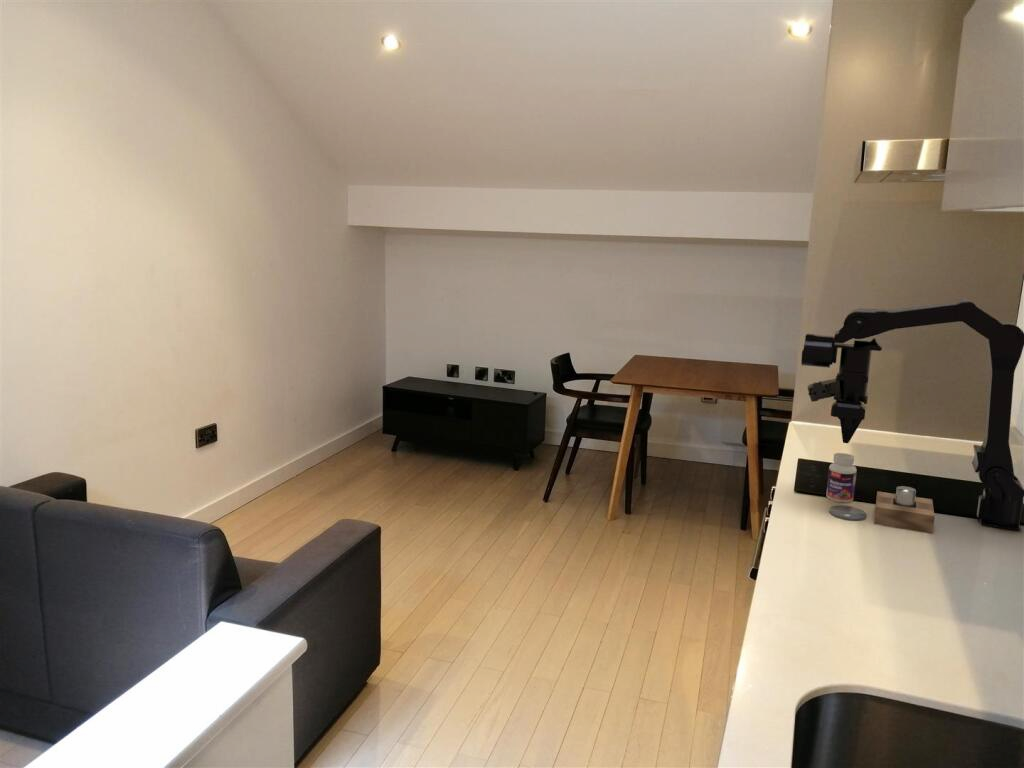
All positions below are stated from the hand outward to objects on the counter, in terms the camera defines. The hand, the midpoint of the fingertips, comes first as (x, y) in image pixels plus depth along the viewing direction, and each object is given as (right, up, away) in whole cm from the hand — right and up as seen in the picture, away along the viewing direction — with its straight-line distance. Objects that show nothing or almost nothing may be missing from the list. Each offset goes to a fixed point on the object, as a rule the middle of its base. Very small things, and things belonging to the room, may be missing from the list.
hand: (845, 442), depth 156 cm
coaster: (-2, -14, -6) cm, 16 cm away
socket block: (+7, -15, -9) cm, 19 cm away
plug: (+7, -14, -9) cm, 18 cm away
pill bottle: (0, -13, +3) cm, 13 cm away
